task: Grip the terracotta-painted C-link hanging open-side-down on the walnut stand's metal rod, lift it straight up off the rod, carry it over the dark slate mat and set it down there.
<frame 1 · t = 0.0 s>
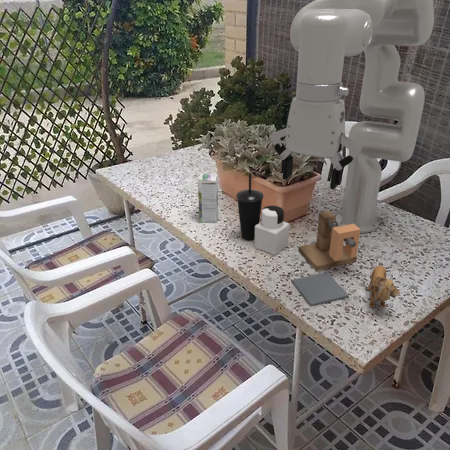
hand: (310, 182, 82), 31 cm above the table, tool pointing down, fingers open, 9 cm apart
syrup box: (209, 219, 135), on the table
medicine bottle: (271, 246, 120), on the table
stand: (326, 256, 115), on the table
slate mat: (319, 289, 102), on the table
drinking cup: (249, 237, 125), on the table
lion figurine: (378, 299, 99), on the table
c link: (342, 255, 107), point 5 cm above the table, touching stand
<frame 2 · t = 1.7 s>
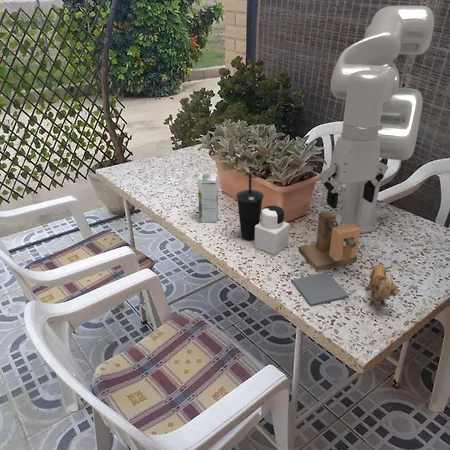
hand: (349, 203, 99), 20 cm above the table, tool pointing down, fingers open, 9 cm apart
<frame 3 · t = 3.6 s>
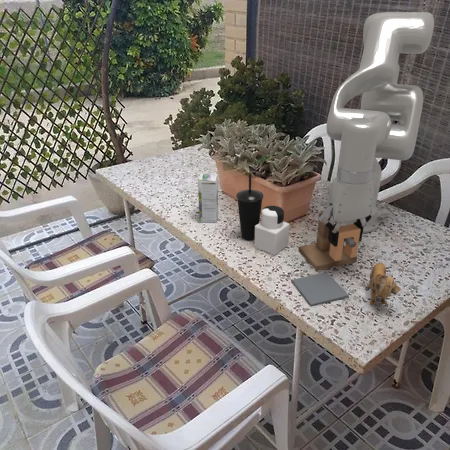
hand: (344, 240, 105), 9 cm above the table, tool pointing down, fingers closed on c link, 6 cm apart
c link: (342, 255, 107), point 5 cm above the table, touching gripper, stand
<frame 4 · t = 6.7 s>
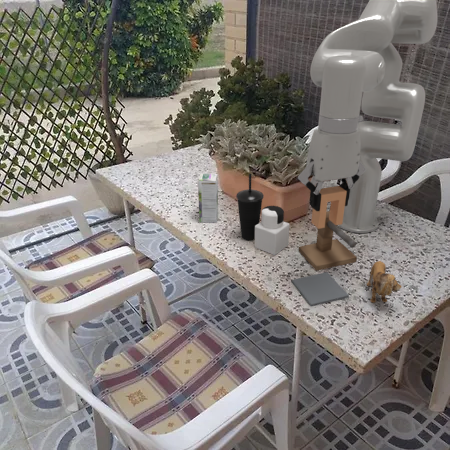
hand: (328, 205, 91), 23 cm above the table, tool pointing down, fingers closed on c link, 6 cm apart
c link: (326, 223, 93), point 19 cm above the table, touching gripper
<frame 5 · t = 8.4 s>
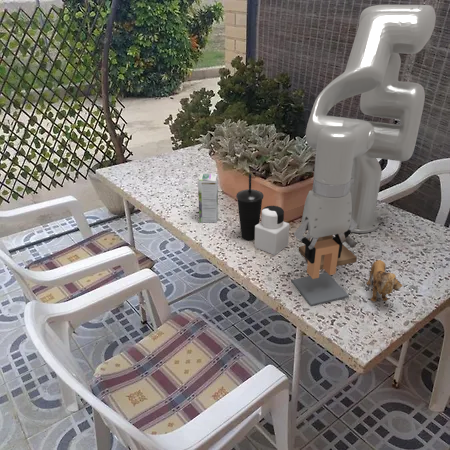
hand: (322, 257, 98), 10 cm above the table, tool pointing down, fingers closed on c link, 6 cm apart
c link: (320, 272, 100), point 5 cm above the table, touching gripper
when the fingers open (7 cm above the table, at t = 9.9 s): c link drops 1 cm, resting on slate mat.
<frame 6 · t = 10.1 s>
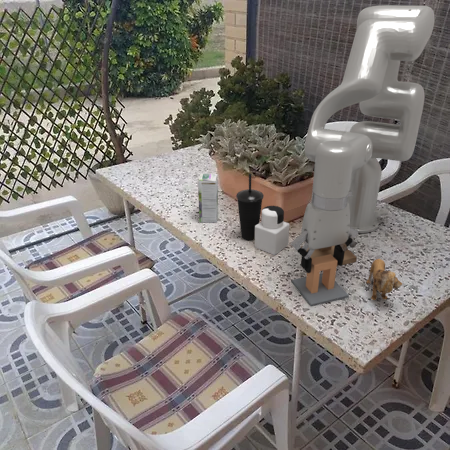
hand: (322, 266, 99), 7 cm above the table, tool pointing down, fingers open, 7 cm apart
c link: (319, 287, 102), point 1 cm above the table, touching slate mat
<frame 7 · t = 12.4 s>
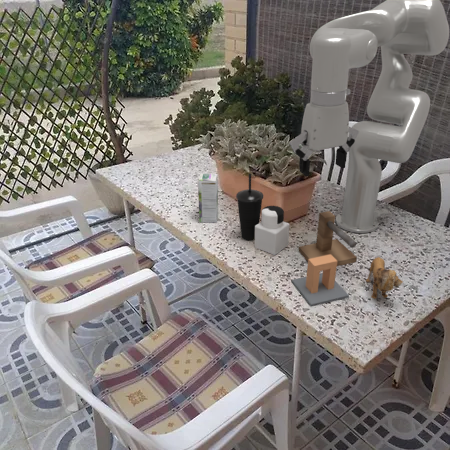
hand: (322, 170, 100), 26 cm above the table, tool pointing down, fingers open, 9 cm apart
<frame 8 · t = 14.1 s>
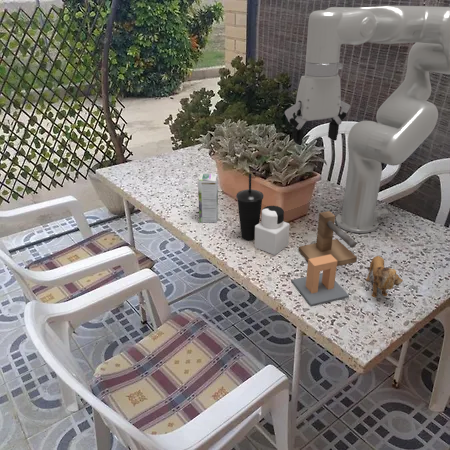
hand: (315, 141, 106), 30 cm above the table, tool pointing down, fingers open, 9 cm apart
at the end: c link inside the target area on the slate mat (0.0 cm from its centre), point 0.6 cm above the slate mat's base; c link touching slate mat; the gripper is holding nothing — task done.
